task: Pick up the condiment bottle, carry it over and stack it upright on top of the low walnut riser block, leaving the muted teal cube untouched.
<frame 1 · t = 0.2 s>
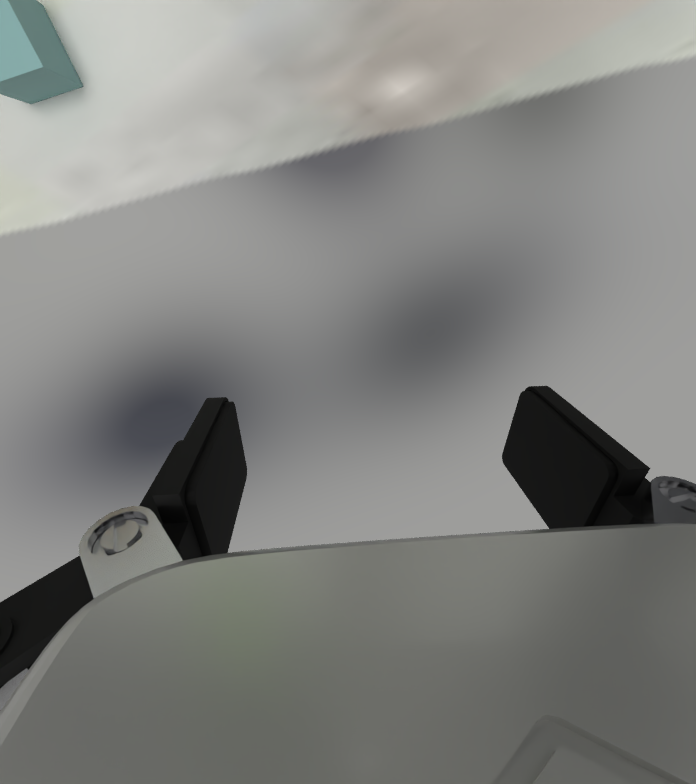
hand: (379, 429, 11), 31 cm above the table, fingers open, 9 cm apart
teal cube: (37, 57, 28), on the table
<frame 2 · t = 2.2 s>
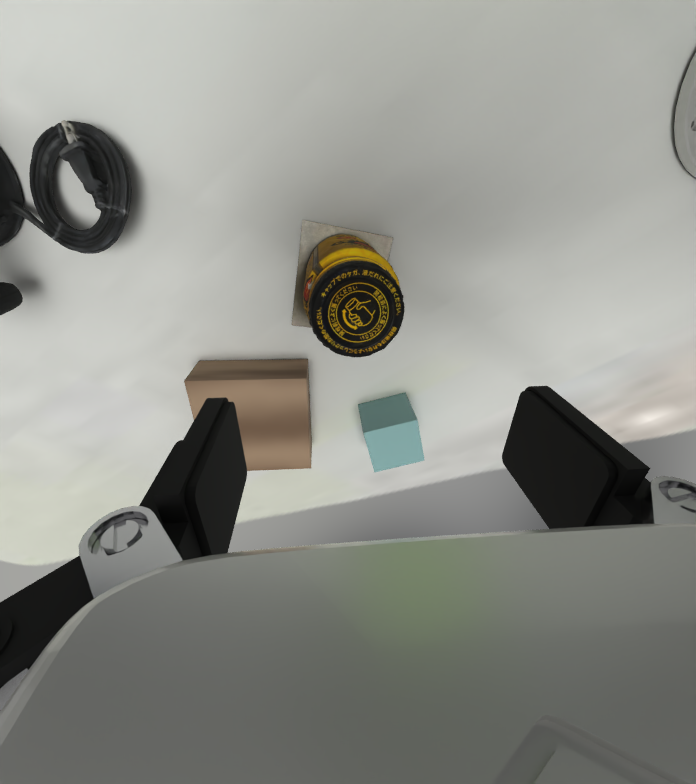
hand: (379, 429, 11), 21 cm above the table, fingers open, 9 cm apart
walnut riser: (260, 405, 34), on the table
teal cube: (385, 417, 36), on the table
condiment: (339, 282, 29), on the table
milk frother: (14, 179, 24), on the table
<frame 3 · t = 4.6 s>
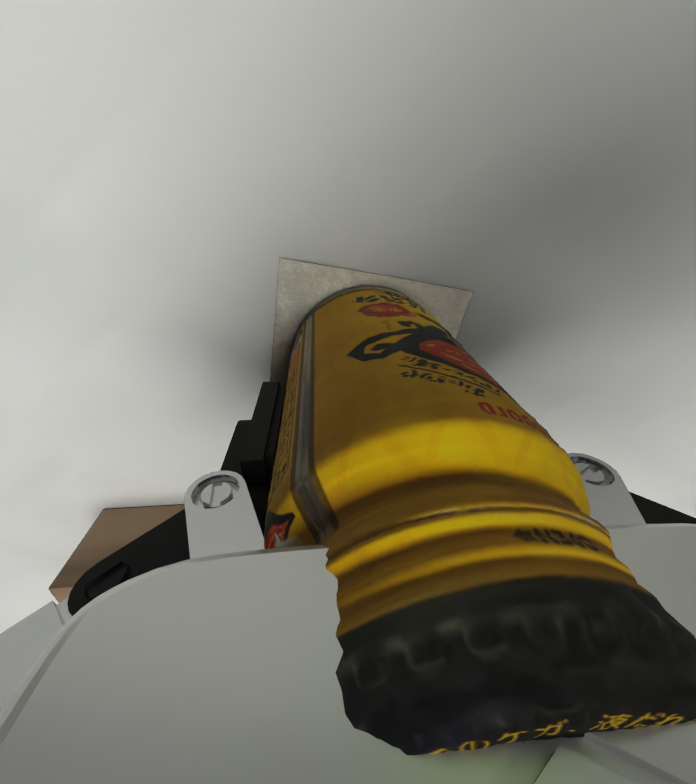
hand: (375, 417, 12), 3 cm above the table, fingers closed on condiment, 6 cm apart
walnut riser: (222, 563, 20), on the table
condiment: (357, 373, 15), on the table, touching gripper
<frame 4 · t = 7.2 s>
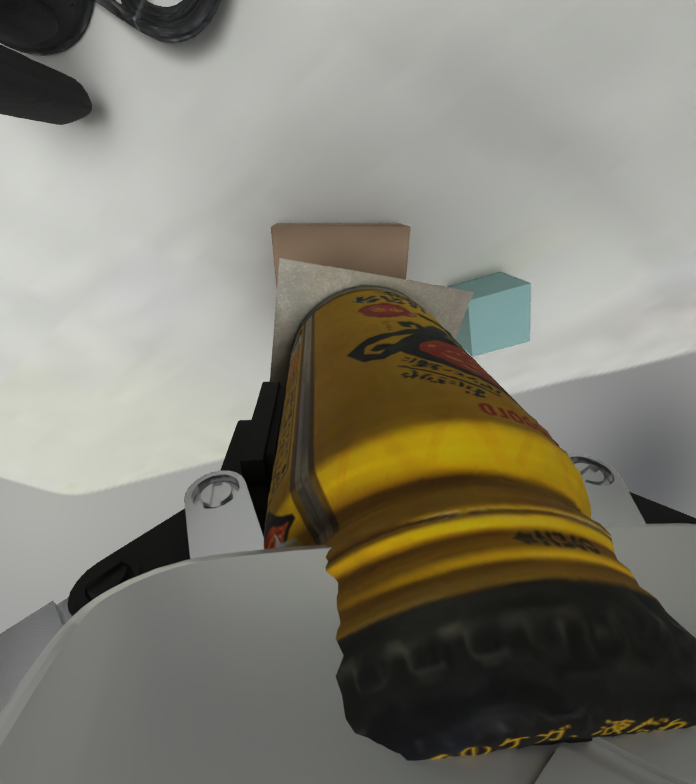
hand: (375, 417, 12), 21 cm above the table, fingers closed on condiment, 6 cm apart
walnut riser: (338, 286, 30), on the table
teal cube: (475, 305, 32), on the table
condiment: (357, 374, 15), point 18 cm above the table, touching gripper
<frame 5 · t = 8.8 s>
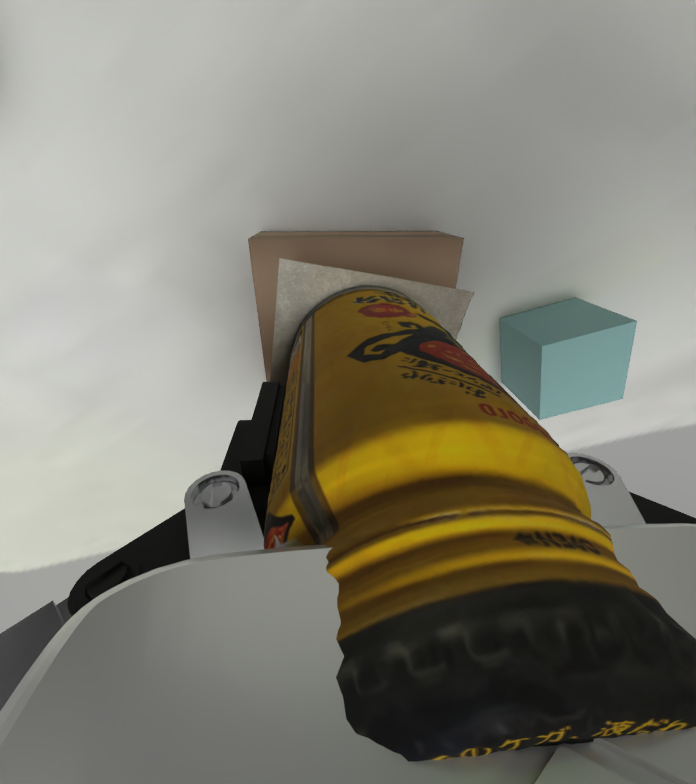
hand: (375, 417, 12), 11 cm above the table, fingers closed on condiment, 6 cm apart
walnut riser: (350, 317, 22), on the table
teal cube: (535, 341, 24), on the table
condiment: (357, 374, 15), point 8 cm above the table, touching gripper
when the fingers open (8 cm above the table, at t = 9.9 s): condiment drops 1 cm, resting on walnut riser.
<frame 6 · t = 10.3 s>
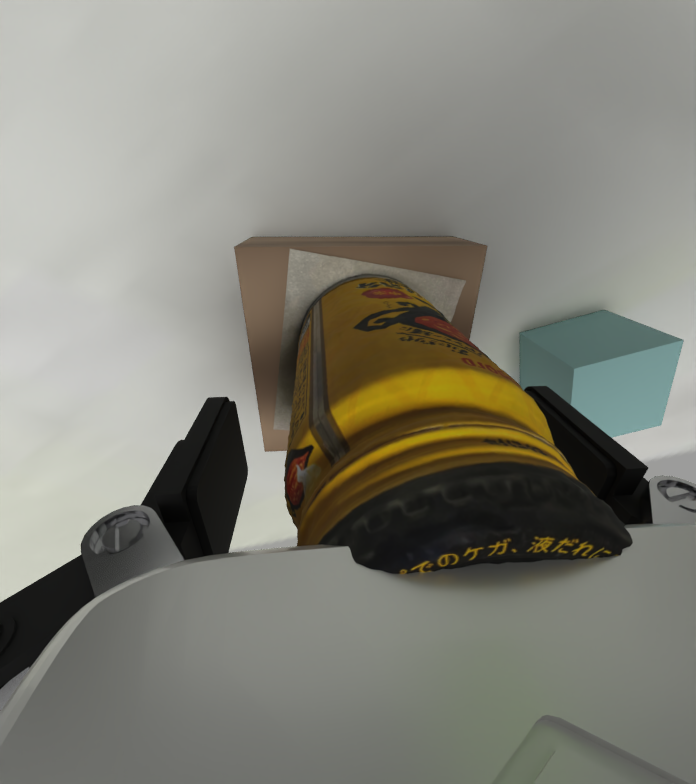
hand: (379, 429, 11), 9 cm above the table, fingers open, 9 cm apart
walnut riser: (353, 333, 19), on the table
teal cube: (558, 358, 21), on the table
condiment: (359, 357, 16), point 4 cm above the table, touching walnut riser
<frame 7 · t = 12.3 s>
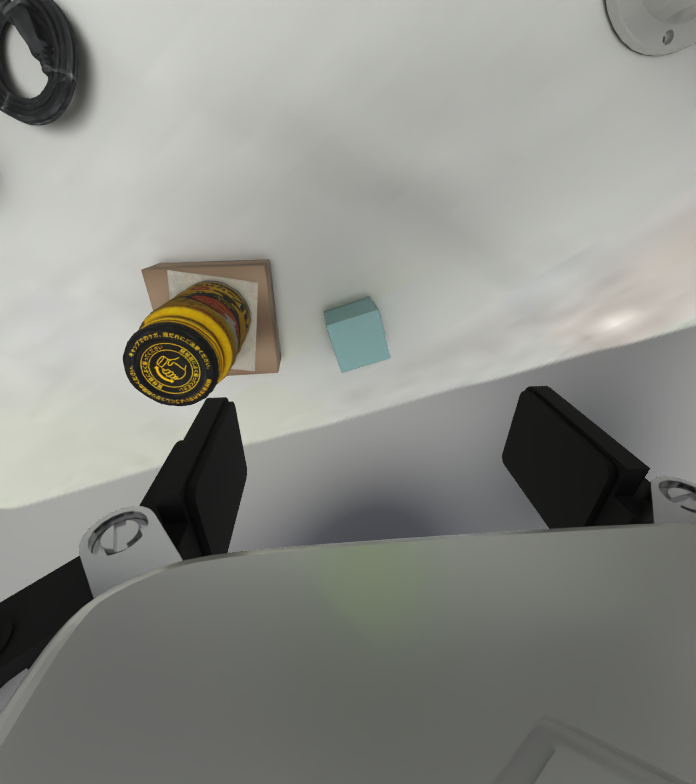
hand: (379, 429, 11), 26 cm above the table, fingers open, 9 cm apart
walnut riser: (225, 314, 34), on the table
teal cube: (353, 326, 36), on the table
condiment: (215, 323, 31), point 4 cm above the table, touching walnut riser
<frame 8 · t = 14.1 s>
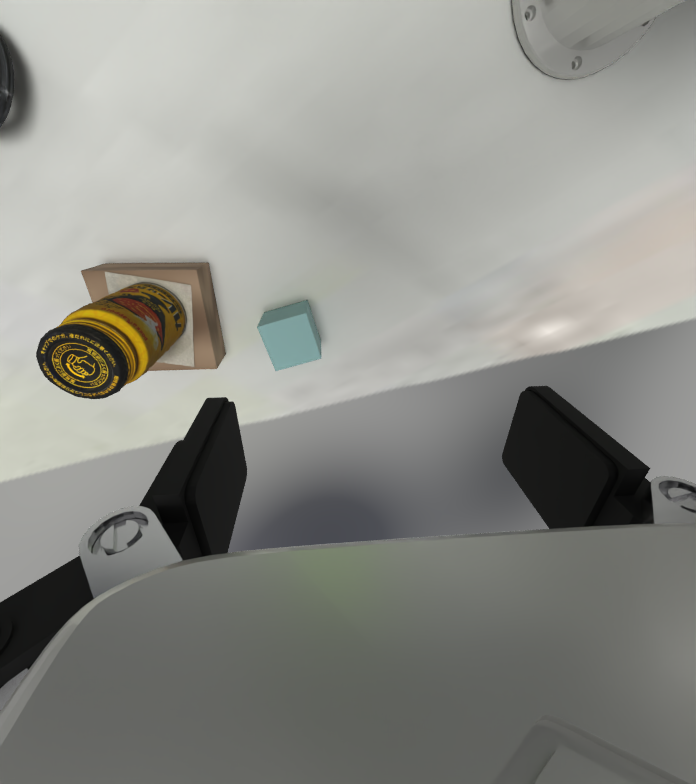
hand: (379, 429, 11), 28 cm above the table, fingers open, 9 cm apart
walnut riser: (170, 312, 36), on the table
teal cube: (293, 327, 38), on the table
condiment: (154, 321, 33), point 4 cm above the table, touching walnut riser
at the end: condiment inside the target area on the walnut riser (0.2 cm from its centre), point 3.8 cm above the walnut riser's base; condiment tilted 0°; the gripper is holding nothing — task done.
